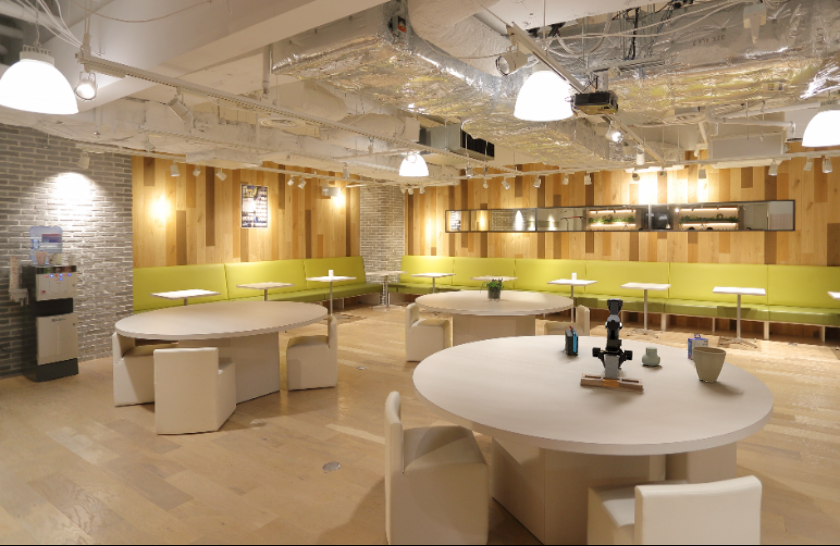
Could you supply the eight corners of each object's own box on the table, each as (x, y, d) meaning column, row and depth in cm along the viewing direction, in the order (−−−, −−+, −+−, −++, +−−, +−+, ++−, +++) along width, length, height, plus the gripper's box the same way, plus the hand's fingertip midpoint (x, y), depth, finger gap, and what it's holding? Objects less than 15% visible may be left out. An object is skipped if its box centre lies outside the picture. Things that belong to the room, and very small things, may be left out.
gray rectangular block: (604, 379, 245) (605, 354, 243) (617, 381, 242) (618, 355, 241) (604, 381, 242) (605, 355, 241) (617, 382, 239) (618, 356, 238)
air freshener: (656, 368, 273) (657, 350, 272) (640, 365, 278) (641, 348, 277) (660, 364, 281) (661, 346, 281) (645, 361, 286) (646, 344, 286)
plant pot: (721, 386, 240) (722, 354, 238) (687, 380, 250) (689, 350, 248) (727, 379, 251) (729, 349, 249) (695, 374, 261) (696, 344, 259)
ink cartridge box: (703, 357, 295) (704, 333, 294) (708, 360, 289) (709, 335, 288) (686, 357, 295) (687, 333, 294) (691, 360, 289) (692, 335, 288)
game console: (578, 357, 298) (579, 333, 296) (567, 356, 299) (568, 333, 298) (574, 346, 325) (575, 325, 324) (564, 346, 326) (565, 324, 325)
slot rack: (582, 380, 252) (582, 372, 252) (641, 386, 241) (642, 378, 241) (580, 385, 243) (580, 378, 242) (642, 392, 232) (642, 384, 232)
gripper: (592, 331, 247) (590, 358, 238) (633, 334, 240) (632, 361, 231) (593, 343, 255) (591, 369, 246) (632, 346, 248) (632, 373, 239)
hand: (611, 368), depth 240 cm, fingers closed on gray rectangular block, 6 cm apart
